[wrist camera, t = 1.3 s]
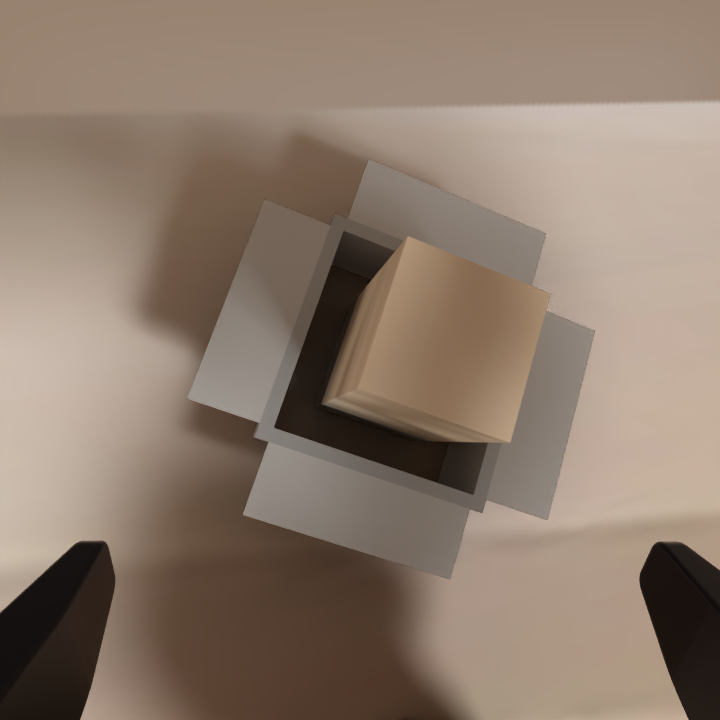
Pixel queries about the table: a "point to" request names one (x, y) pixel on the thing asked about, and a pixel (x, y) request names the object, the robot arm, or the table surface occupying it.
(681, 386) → the table surface
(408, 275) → the box
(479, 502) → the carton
